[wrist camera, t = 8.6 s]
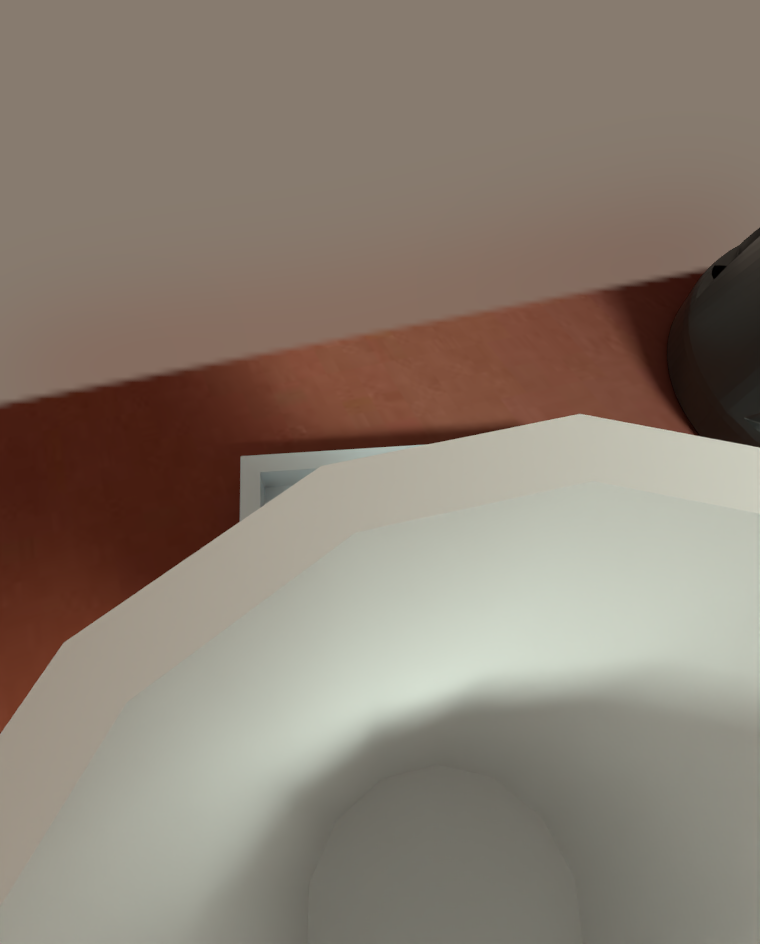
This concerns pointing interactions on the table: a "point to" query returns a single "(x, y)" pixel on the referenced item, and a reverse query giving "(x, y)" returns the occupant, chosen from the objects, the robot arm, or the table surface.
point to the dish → (288, 472)
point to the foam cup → (417, 712)
